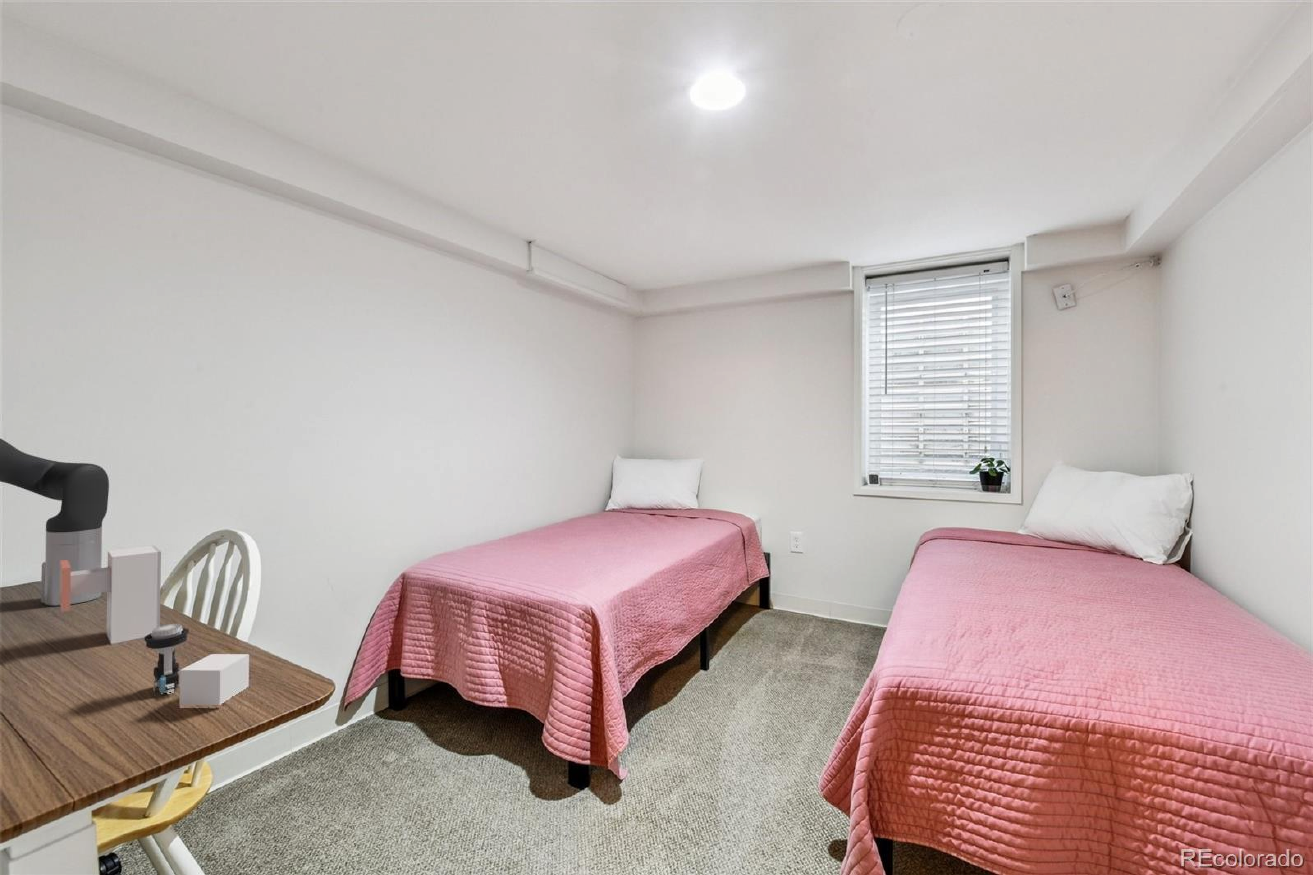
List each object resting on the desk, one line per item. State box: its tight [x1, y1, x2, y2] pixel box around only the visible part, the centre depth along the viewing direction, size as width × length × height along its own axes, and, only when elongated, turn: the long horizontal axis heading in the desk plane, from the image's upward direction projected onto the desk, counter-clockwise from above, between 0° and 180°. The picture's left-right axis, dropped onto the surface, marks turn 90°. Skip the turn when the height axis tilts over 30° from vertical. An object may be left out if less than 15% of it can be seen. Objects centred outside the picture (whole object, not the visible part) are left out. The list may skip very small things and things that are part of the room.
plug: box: [59, 560, 111, 613], centre depth 105 cm, size 8×9×8 cm
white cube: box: [178, 653, 250, 706], centre depth 84 cm, size 6×6×6 cm
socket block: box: [106, 545, 162, 645], centre depth 109 cm, size 7×8×17 cm
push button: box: [143, 623, 190, 695], centre depth 87 cm, size 7×5×10 cm
